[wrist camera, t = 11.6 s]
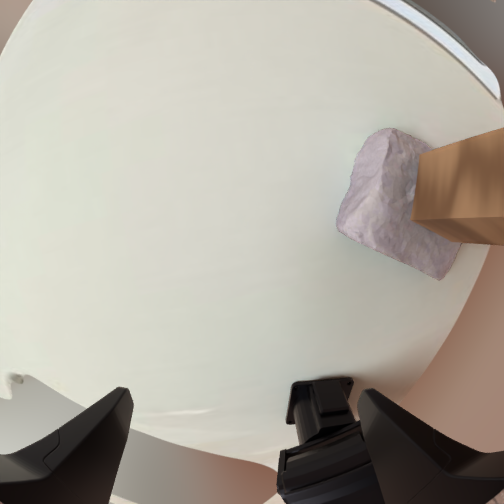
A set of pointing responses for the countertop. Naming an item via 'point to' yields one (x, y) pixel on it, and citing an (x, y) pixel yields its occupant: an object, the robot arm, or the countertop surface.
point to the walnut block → (463, 190)
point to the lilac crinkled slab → (392, 204)
